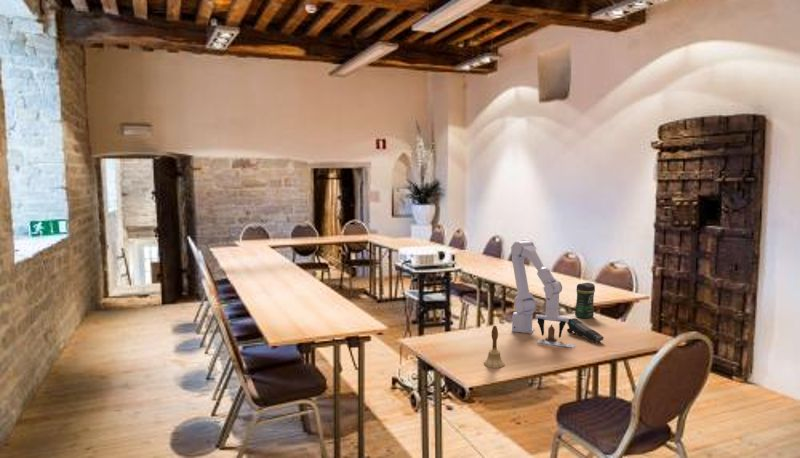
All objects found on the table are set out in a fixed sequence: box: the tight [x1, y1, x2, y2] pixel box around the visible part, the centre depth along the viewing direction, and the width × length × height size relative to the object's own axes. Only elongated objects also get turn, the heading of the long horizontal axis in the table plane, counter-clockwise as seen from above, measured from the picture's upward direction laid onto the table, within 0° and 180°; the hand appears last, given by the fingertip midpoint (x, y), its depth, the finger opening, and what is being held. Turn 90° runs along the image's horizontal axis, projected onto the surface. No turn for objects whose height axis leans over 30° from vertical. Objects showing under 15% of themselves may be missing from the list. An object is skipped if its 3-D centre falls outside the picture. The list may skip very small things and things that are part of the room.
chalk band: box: [536, 340, 576, 349], centre depth 238 cm, size 16×4×1 cm, turn 66°
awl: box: [547, 324, 555, 340], centre depth 244 cm, size 3×3×7 cm
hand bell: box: [483, 325, 505, 369], centre depth 211 cm, size 8×8×16 cm
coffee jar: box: [574, 282, 596, 319], centre depth 284 cm, size 10×8×19 cm
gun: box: [566, 317, 605, 344], centre depth 249 cm, size 4×20×10 cm, turn 23°
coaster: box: [545, 337, 558, 342], centre depth 244 cm, size 5×5×1 cm
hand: (551, 336), depth 244 cm, fingers open, 7 cm apart
